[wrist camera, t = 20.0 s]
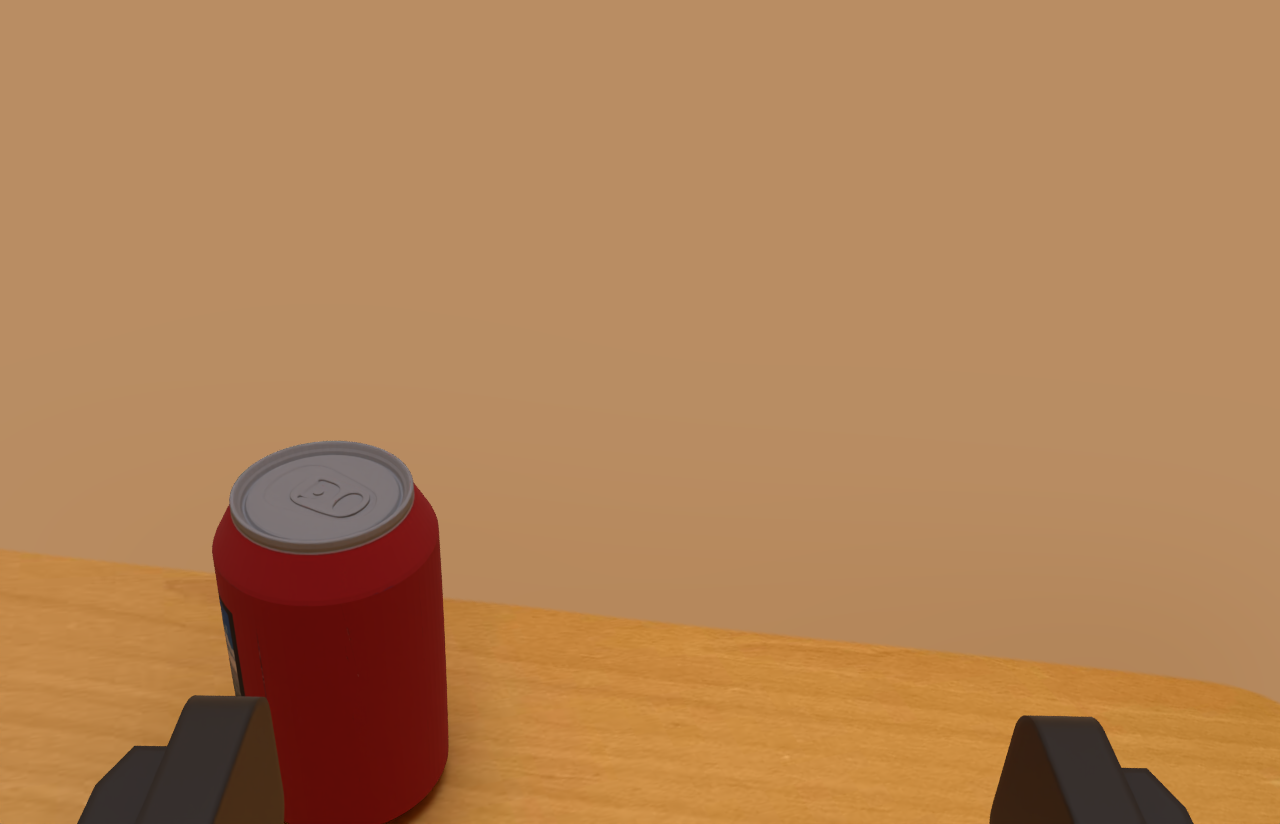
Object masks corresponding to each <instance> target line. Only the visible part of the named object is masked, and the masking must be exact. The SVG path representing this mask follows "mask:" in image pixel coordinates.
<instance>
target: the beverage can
mask: <svg viewBox="0 0 1280 824" xmlns="http://www.w3.org/2000/svg"><path fill="white" fill-rule="evenodd" d="M212 553H213V560H214V567H215V573H216V580H217V586H218V593H219V599H220V605H221V612H222V618H223V624H224V630H225V636H226V642H227V648H228V654H229V660H230V666H231V672H232V678H233V684H234V689H235V695H236V696H244V697H265V698H266V699H267V701H268V703H269V706H270V711H271V717H272V723H273V729H274V736H275V742H276V748H277V754H278V760H279V767H280V773H281V779H282V785H283V792H284V821H285V822H287V823H289V824H383V823H386V822H388V821H390V820H392V819H395V818H397V817H399V816H400V815H402V814H404V813H405V812H407V811H408V810H410V809H411V808H413V807H414V806H415V805H417V804H418V803H419V802H420V801H421V800H422V799H423V798H425V797H426V795H427V794H428V793H429V792H430V791H431V790H432V789H433V787H434V786H435V785H436V783H437V781H438V780H439V778H440V776H441V774H442V772H443V770H444V767H445V764H446V761H447V756H448V711H447V681H446V656H445V633H444V613H443V593H442V575H441V558H440V542H439V528H438V520H437V517H436V514H435V512H434V510H433V508H432V506H431V505H430V503H429V502H428V500H427V499H426V498H425V497H424V495H423V494H422V493H421V492H420V490H419V489H418V488H417V486H416V485H415V484H414V483H413V478H412V475H411V473H410V471H409V469H408V468H407V466H406V465H405V464H404V463H403V462H402V461H401V460H400V459H399V458H397V457H396V456H394V455H393V454H391V453H389V452H387V451H385V450H383V449H380V448H377V447H374V446H371V445H367V444H362V443H357V442H347V441H323V442H313V443H307V444H301V445H297V446H293V447H289V448H286V449H283V450H280V451H277V452H275V453H273V454H270V455H269V456H266V457H264V458H262V459H260V460H259V461H257V462H256V463H254V464H253V465H251V466H250V467H249V468H248V469H247V470H245V471H244V472H243V473H242V474H241V475H240V476H239V478H238V479H237V481H236V482H235V483H234V485H233V487H232V490H231V493H230V499H229V506H228V508H227V510H226V512H225V514H224V516H223V518H222V520H221V522H220V524H219V526H218V528H217V530H216V533H215V536H214V540H213V546H212Z"/></svg>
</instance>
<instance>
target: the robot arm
mask: <svg viewBox="0 0 1280 824" xmlns="http://www.w3.org/2000/svg"><path fill="white" fill-rule="evenodd" d="M77 824H284V792H283V785H282V779H281V773H280V767H279V760H278V754H277V748H276V742H275V736H274V729H273V723H272V717H271V711H270V706H269V703H268V701H267V699H266V698H265V697H244V696H197V695H194V696H192V697H191V698H190V699H189V700H188V701H187V703H186V704H185V706H184V708H183V710H182V712H181V715H180V717H179V720H178V722H177V724H176V727H175V729H174V731H173V734H172V736H171V739H170V741H169V743H168V746H134V747H133V748H132V749H131V750H130V751H129V752H128V753H127V754H126V755H125V756H124V757H123V758H122V759H121V760H120V761H119V762H118V763H117V764H116V765H115V766H114V767H113V768H112V769H111V770H110V771H109V772H108V773H107V774H106V775H105V776H104V777H103V778H102V779H101V780H100V781H99V782H98V783H97V784H96V785H95V787H94V789H93V791H92V793H91V796H90V798H89V800H88V802H87V804H86V806H85V808H84V810H83V813H82V815H81V817H80V819H79V821H78V823H77ZM990 824H1193V822H1192V820H1191V818H1190V816H1189V814H1188V812H1187V810H1186V808H1185V807H1184V806H1183V805H1182V804H1181V803H1180V802H1179V801H1178V800H1177V799H1176V798H1175V797H1174V796H1173V795H1172V794H1171V793H1170V791H1169V790H1168V789H1167V788H1166V787H1165V786H1164V785H1163V784H1162V783H1161V782H1160V781H1159V780H1158V779H1157V778H1156V777H1155V776H1154V775H1153V774H1152V773H1151V772H1150V771H1149V770H1148V769H1147V768H1121V766H1120V764H1119V762H1118V760H1117V757H1116V755H1115V753H1114V751H1113V749H1112V747H1111V744H1110V742H1109V740H1108V738H1107V736H1106V733H1105V731H1104V729H1103V728H1102V726H1101V725H1100V723H1099V722H1098V721H1097V720H1096V719H1095V718H1093V717H1070V716H1022V717H1020V719H1019V720H1018V721H1017V723H1016V726H1015V729H1014V732H1013V735H1012V739H1011V742H1010V746H1009V749H1008V753H1007V756H1006V760H1005V763H1004V767H1003V770H1002V774H1001V777H1000V780H999V784H998V787H997V791H996V794H995V798H994V801H993V805H992V809H991V814H990Z"/></svg>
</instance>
